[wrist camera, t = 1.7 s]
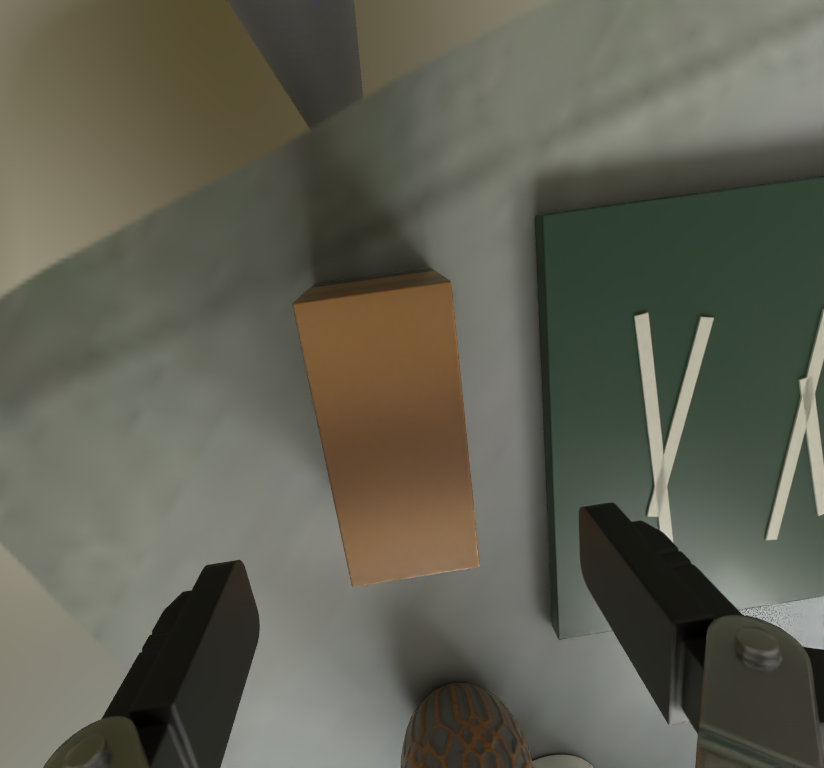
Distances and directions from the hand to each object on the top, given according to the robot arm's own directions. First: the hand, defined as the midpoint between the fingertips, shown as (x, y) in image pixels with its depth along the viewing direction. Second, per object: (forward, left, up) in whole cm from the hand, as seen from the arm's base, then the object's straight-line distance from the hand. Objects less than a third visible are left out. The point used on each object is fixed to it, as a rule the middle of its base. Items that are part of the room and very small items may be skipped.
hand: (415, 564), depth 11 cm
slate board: (+4, +16, -11) cm, 20 cm away
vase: (+20, +1, -11) cm, 23 cm away
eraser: (0, 0, -11) cm, 11 cm away
